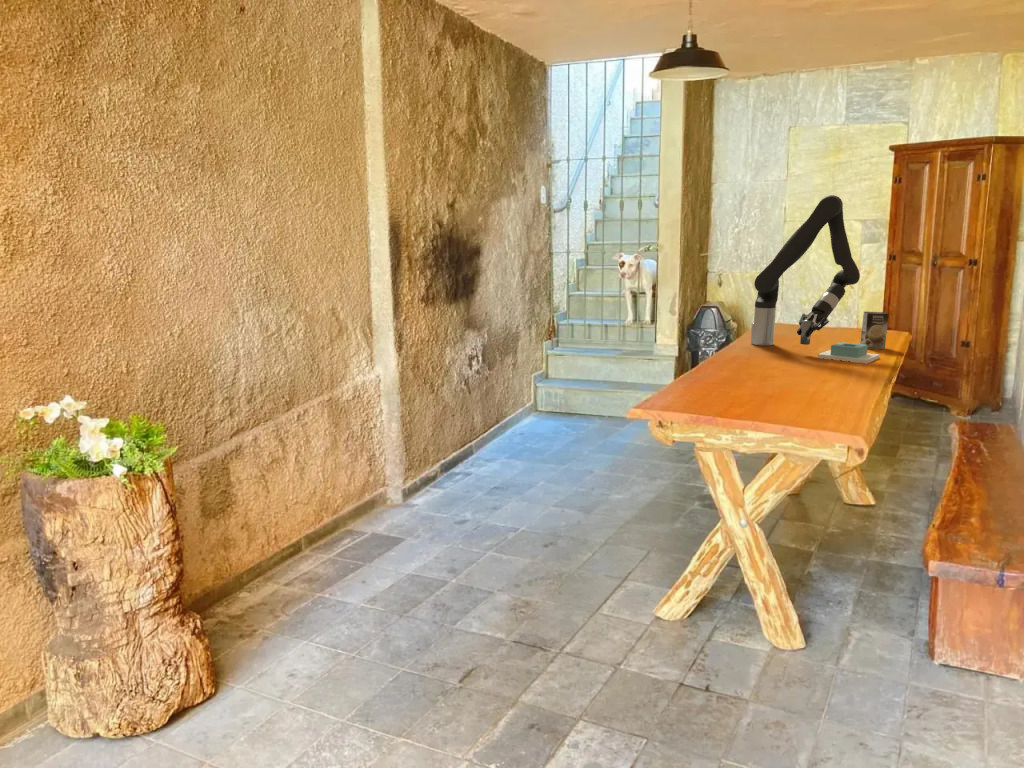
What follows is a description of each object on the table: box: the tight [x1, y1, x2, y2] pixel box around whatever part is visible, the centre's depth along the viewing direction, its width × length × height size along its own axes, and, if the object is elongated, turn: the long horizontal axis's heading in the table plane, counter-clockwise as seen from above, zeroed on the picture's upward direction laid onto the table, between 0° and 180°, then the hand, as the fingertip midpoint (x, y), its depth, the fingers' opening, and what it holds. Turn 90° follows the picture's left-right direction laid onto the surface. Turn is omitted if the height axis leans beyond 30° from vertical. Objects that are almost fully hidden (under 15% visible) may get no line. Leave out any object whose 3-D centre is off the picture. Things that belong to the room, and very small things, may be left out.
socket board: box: [817, 341, 880, 365], centre depth 337 cm, size 20×16×6 cm
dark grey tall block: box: [799, 320, 812, 346], centre depth 344 cm, size 4×4×10 cm
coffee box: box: [859, 311, 889, 350], centre depth 360 cm, size 9×6×16 cm
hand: (802, 334), depth 343 cm, fingers closed on dark grey tall block, 4 cm apart
